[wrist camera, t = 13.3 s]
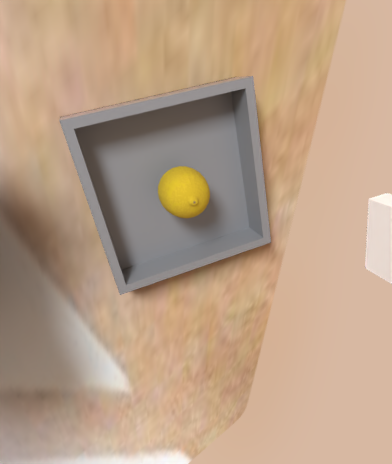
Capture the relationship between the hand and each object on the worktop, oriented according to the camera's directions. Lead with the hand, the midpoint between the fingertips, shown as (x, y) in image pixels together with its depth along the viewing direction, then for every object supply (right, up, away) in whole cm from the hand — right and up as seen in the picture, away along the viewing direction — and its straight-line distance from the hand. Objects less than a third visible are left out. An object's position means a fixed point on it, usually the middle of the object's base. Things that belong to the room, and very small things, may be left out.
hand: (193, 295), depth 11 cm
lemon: (-3, +8, +32) cm, 33 cm away
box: (-3, +8, +32) cm, 33 cm away
